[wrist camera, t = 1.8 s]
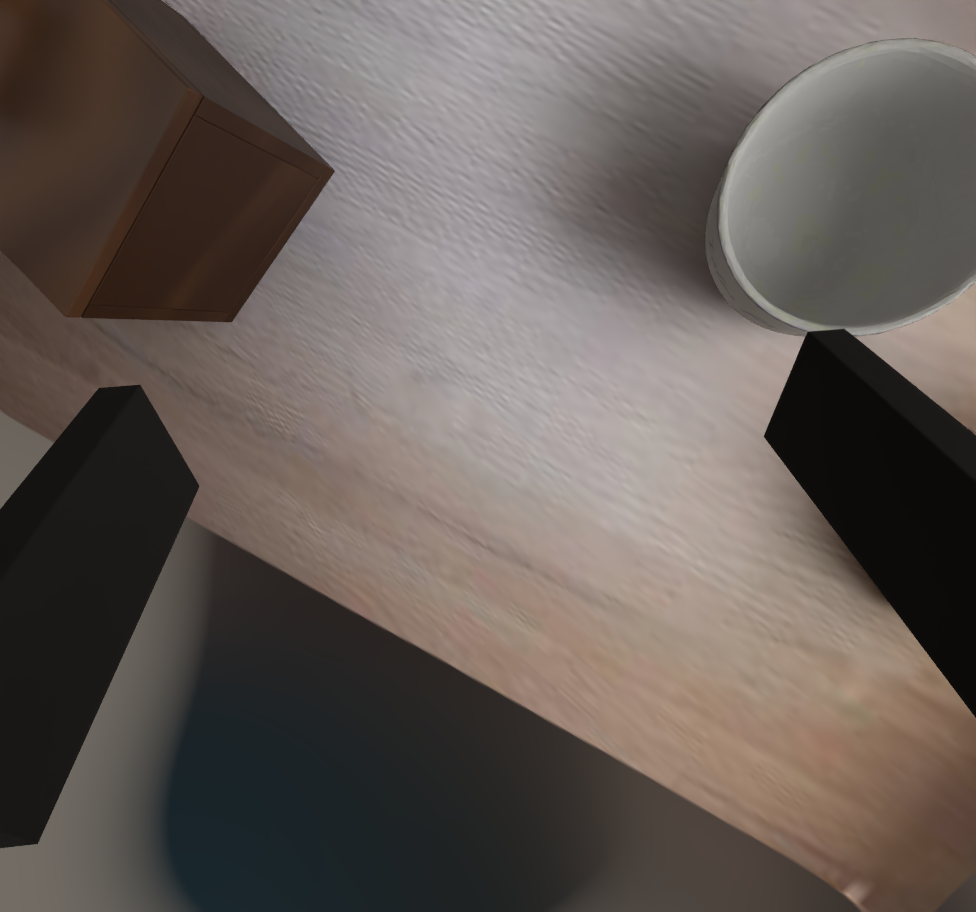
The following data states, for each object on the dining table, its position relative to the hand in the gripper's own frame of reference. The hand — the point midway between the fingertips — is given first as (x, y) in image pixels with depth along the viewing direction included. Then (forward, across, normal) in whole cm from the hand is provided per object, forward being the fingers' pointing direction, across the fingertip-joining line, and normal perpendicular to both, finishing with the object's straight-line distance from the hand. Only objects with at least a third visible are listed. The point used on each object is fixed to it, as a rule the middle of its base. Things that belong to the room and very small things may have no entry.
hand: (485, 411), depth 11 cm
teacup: (+18, +20, -4) cm, 27 cm away
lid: (+23, -20, +3) cm, 30 cm away
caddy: (+31, -16, -2) cm, 35 cm away
